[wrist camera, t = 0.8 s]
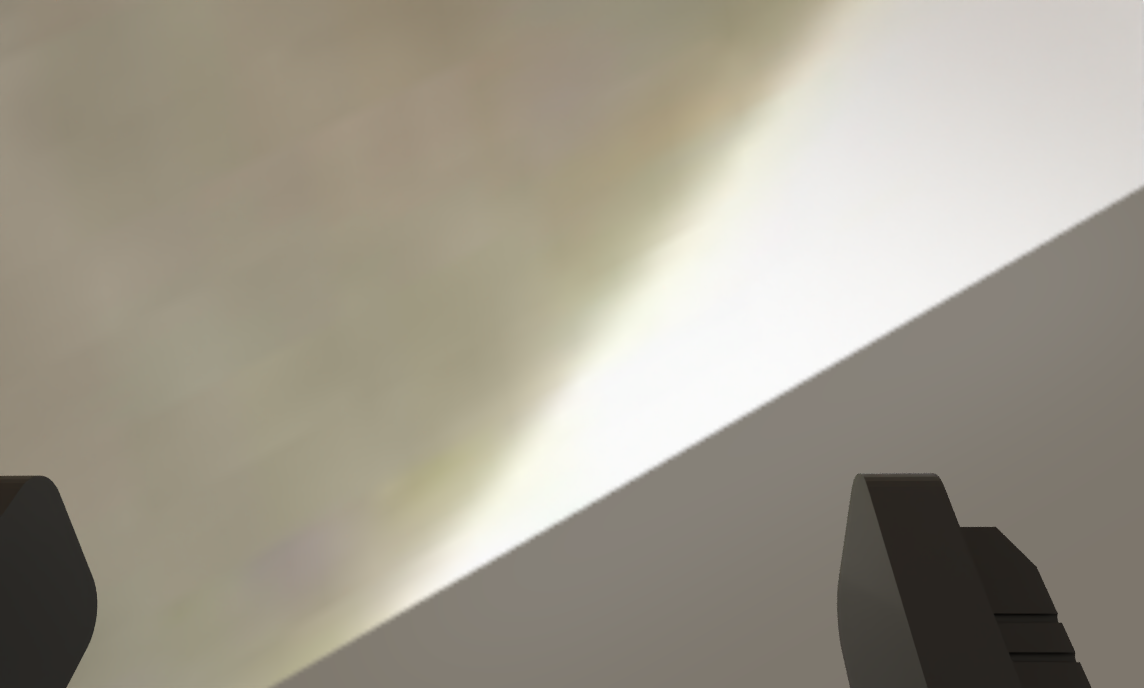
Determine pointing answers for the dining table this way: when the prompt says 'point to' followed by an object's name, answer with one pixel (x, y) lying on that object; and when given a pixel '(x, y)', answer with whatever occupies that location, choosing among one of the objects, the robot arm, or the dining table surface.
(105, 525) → the dining table surface
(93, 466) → the dining table surface
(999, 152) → the dining table surface
